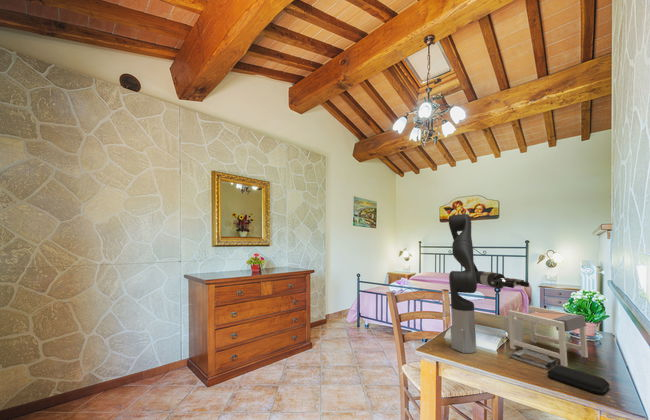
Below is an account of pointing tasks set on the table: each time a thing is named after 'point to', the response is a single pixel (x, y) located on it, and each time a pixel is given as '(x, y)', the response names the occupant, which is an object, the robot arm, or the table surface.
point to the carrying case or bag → (579, 379)
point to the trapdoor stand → (534, 336)
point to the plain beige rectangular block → (517, 328)
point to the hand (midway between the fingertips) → (521, 285)
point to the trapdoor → (564, 320)
